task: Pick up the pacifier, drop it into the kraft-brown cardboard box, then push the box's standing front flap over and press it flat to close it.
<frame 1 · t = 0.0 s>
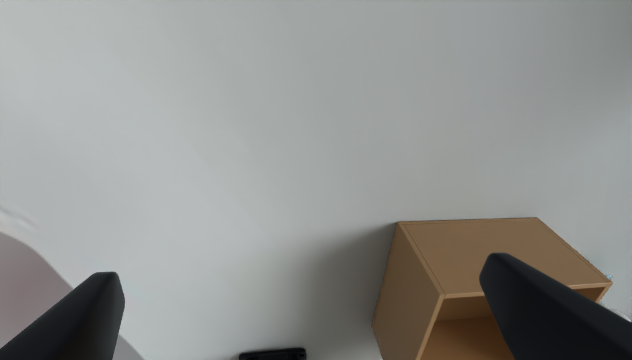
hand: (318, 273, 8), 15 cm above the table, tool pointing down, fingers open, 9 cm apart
carton: (448, 275, 32), on the table
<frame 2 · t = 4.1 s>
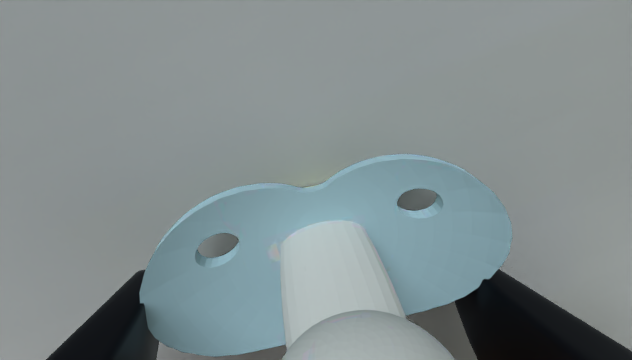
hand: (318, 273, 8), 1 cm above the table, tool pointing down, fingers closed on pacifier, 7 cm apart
pacifier: (320, 239, 9), on the table, touching gripper
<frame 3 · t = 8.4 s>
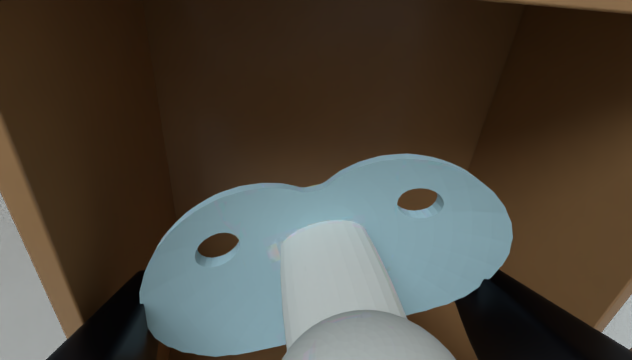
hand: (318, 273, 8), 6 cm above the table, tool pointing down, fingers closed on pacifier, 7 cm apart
carton: (328, 156, 14), on the table
pacifier: (320, 239, 9), point 5 cm above the table, touching gripper
when the fingers open (9 cm above the table, at t = 28.9 s): pacifier drops 8 cm, resting on carton.
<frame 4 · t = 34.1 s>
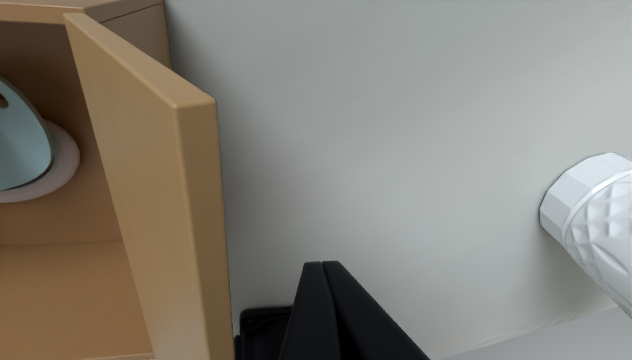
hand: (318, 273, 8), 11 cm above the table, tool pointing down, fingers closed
flap: (170, 325, 8), point 11 cm above the table, hinge at 119.9°, touching gripper
carton: (36, 137, 16), on the table
white cup: (582, 194, 23), on the table
pacifier: (0, 136, 15), resting on carton
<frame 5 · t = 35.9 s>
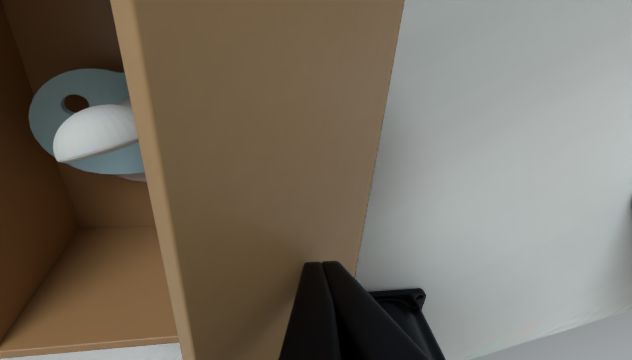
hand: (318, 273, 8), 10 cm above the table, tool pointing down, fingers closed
flap: (298, 271, 8), point 10 cm above the table, hinge at 45.5°, touching gripper
carton: (187, 118, 16), on the table
pacifier: (157, 117, 16), resting on carton
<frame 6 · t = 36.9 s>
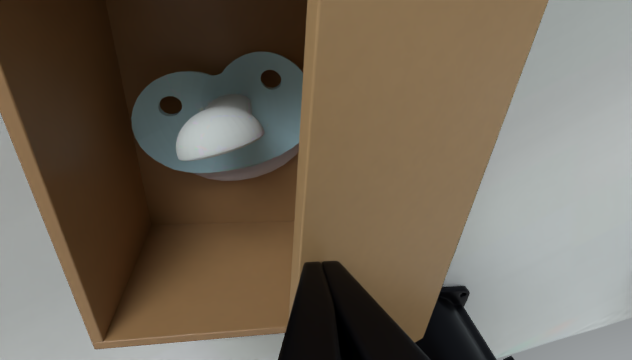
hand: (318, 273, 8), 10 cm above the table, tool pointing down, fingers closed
flap: (392, 237, 10), point 9 cm above the table, hinge at 21.4°, touching gripper
carton: (263, 119, 17), on the table
pacifier: (236, 118, 17), resting on carton
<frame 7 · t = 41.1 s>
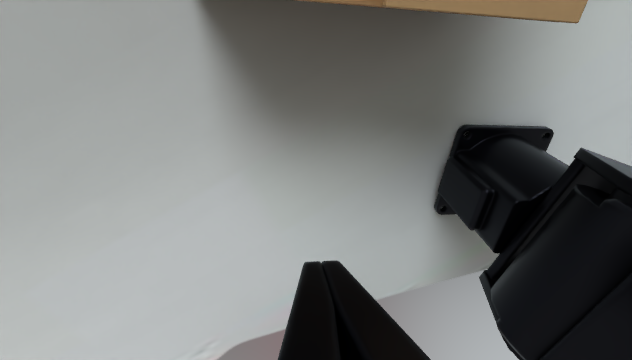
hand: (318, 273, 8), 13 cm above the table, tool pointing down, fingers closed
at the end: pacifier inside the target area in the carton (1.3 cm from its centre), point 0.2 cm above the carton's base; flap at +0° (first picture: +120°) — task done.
